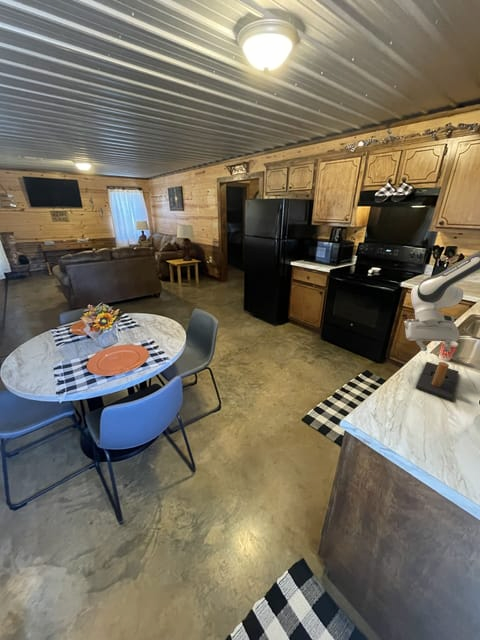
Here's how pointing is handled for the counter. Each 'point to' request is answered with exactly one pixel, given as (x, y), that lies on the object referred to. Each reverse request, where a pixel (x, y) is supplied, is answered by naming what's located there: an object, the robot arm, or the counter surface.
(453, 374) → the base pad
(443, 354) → the beverage cup
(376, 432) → the counter surface
